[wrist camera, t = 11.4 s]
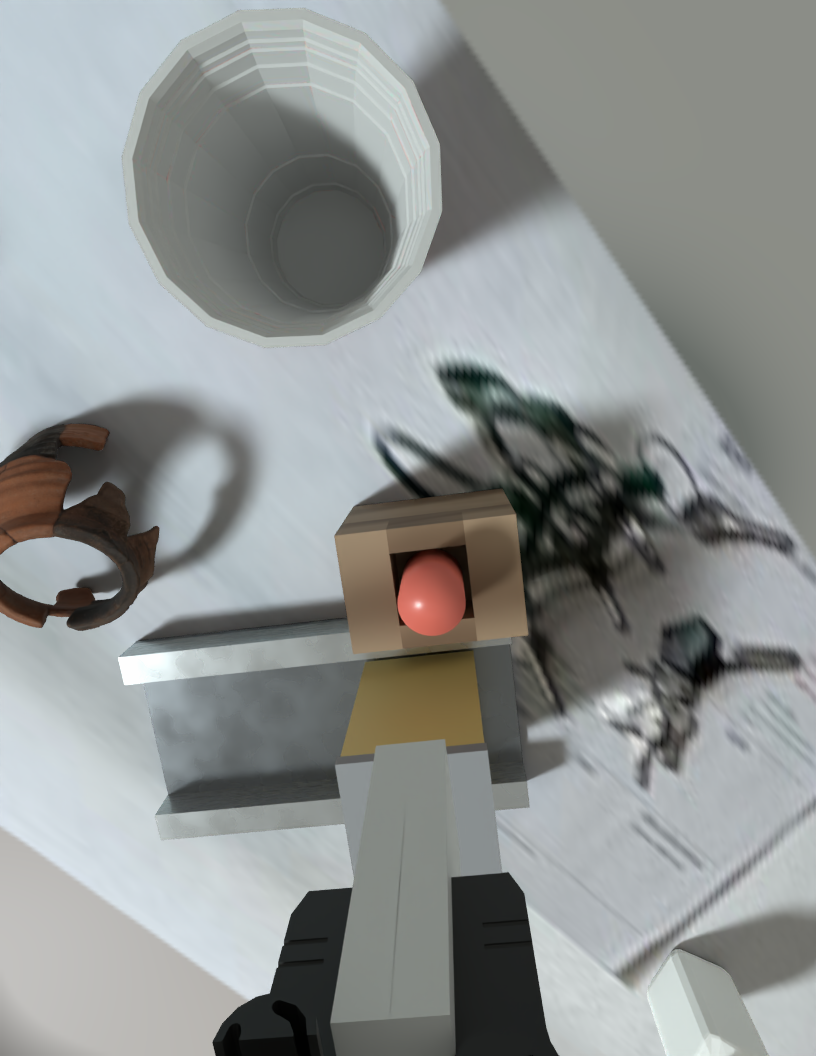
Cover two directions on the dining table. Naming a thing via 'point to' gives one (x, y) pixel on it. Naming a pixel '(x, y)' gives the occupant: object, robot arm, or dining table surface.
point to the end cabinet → (432, 523)
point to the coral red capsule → (432, 593)
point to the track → (284, 723)
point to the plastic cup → (282, 177)
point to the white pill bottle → (700, 1010)
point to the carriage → (422, 715)
